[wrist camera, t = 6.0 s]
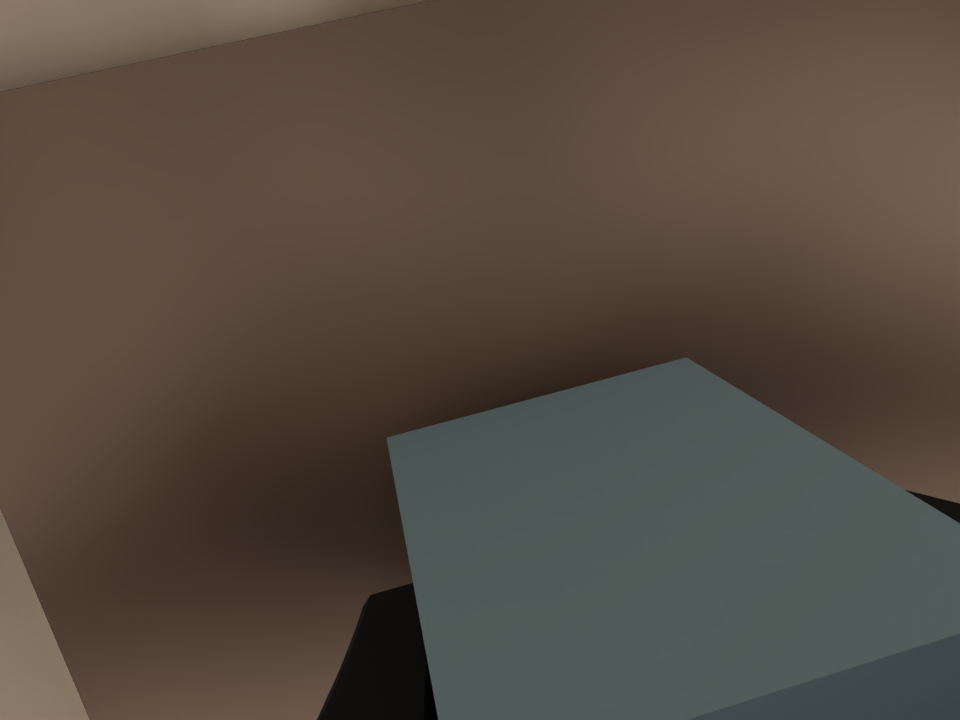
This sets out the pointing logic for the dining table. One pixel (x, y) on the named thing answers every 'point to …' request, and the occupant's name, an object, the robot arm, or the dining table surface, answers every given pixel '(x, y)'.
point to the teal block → (671, 563)
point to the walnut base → (438, 291)
